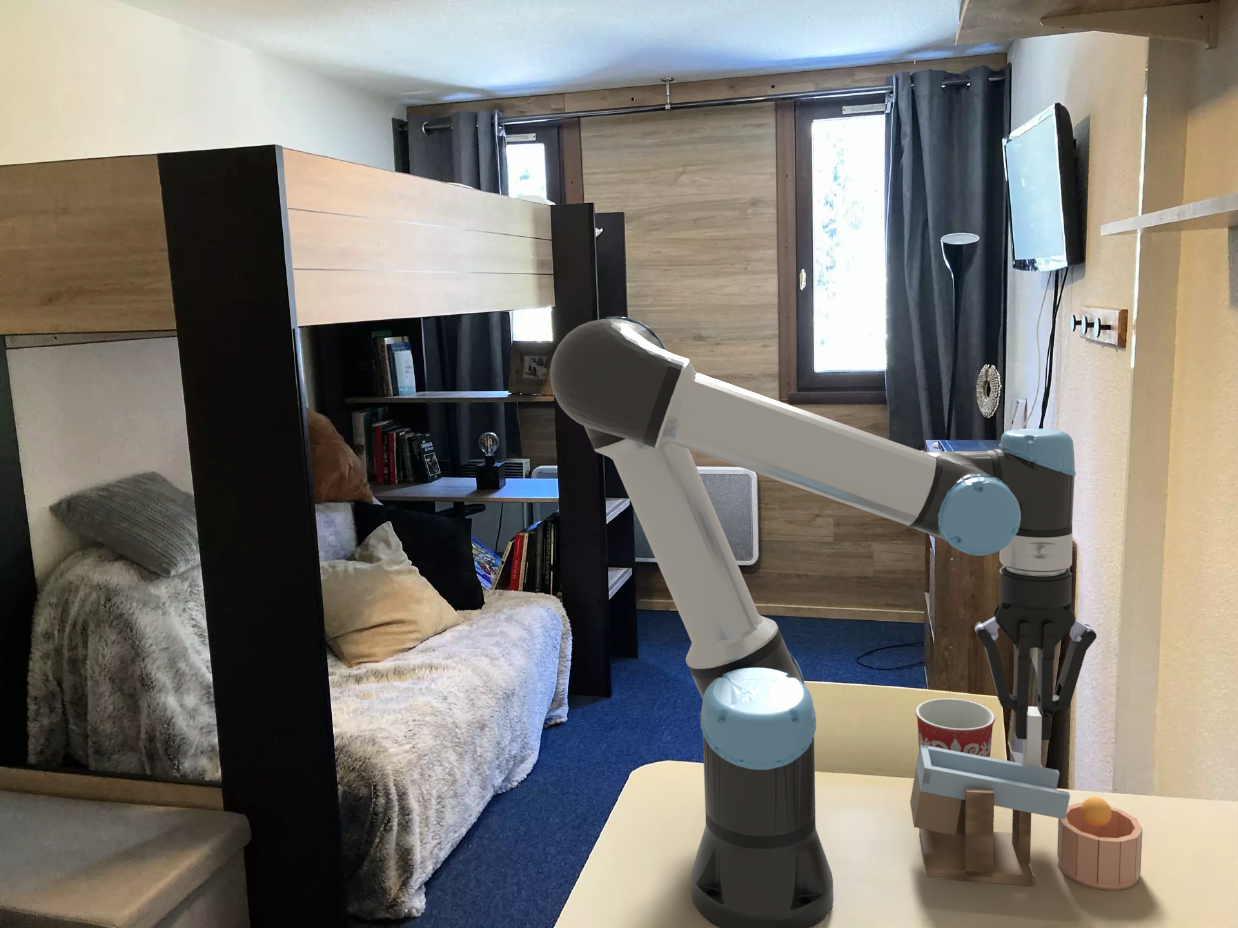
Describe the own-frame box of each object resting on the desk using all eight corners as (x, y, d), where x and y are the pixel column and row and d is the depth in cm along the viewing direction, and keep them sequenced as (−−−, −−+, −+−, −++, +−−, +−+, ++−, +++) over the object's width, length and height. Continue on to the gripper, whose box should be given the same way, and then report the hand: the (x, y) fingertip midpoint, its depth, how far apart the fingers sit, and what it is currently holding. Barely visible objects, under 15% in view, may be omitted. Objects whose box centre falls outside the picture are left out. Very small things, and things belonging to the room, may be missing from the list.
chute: (914, 828, 109) (924, 768, 108) (905, 773, 122) (915, 719, 120) (1057, 857, 106) (1070, 796, 105) (1033, 798, 119) (1044, 742, 117)
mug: (998, 839, 115) (1000, 730, 113) (917, 833, 117) (917, 726, 115) (984, 787, 127) (986, 688, 125) (911, 782, 130) (911, 684, 127)
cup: (1067, 886, 106) (1068, 838, 105) (1051, 846, 113) (1052, 800, 112) (1149, 892, 104) (1151, 843, 103) (1127, 851, 112) (1128, 805, 111)
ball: (1118, 828, 106) (1088, 833, 107) (1110, 814, 109) (1081, 819, 110) (1111, 803, 106) (1082, 807, 106) (1104, 789, 109) (1075, 794, 109)
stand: (926, 877, 108) (926, 789, 107) (919, 836, 117) (919, 753, 115) (1034, 885, 106) (1036, 795, 104) (1019, 842, 114) (1021, 758, 113)
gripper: (978, 575, 109) (977, 776, 113) (1106, 576, 106) (1100, 782, 110) (969, 558, 116) (968, 747, 120) (1089, 558, 113) (1084, 752, 117)
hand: (1031, 763), depth 115 cm, fingers closed
